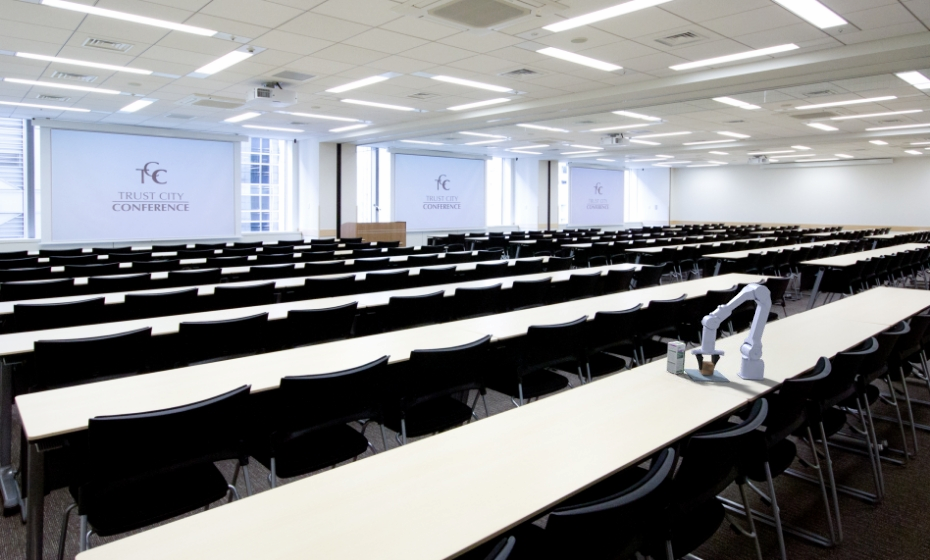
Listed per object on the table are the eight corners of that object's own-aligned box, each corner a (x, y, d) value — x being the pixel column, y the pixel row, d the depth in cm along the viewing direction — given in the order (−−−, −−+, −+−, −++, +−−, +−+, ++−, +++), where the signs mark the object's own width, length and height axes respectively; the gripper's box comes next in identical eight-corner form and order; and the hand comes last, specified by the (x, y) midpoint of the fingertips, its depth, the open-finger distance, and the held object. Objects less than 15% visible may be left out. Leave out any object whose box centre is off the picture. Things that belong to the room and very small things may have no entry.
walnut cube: (709, 371, 276) (710, 361, 275) (713, 375, 271) (714, 364, 270) (698, 371, 276) (699, 361, 275) (702, 374, 271) (703, 364, 270)
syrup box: (675, 374, 275) (677, 344, 273) (665, 371, 280) (668, 341, 278) (684, 373, 277) (686, 343, 275) (674, 369, 283) (676, 340, 280)
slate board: (716, 371, 281) (716, 370, 281) (729, 382, 266) (729, 380, 266) (682, 370, 282) (683, 368, 282) (693, 380, 267) (693, 379, 266)
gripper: (695, 343, 268) (693, 371, 270) (727, 344, 267) (725, 372, 269) (690, 339, 275) (688, 367, 277) (722, 340, 274) (719, 368, 276)
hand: (706, 369), depth 274 cm, fingers closed on walnut cube, 5 cm apart
